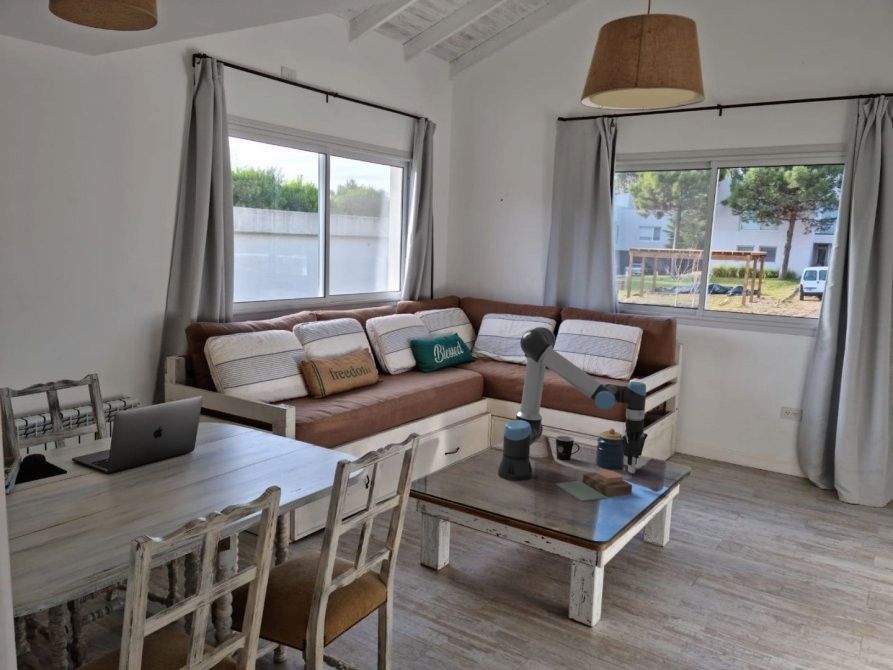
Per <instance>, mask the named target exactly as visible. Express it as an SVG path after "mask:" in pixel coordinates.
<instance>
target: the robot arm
mask: <svg viewBox="0 0 893 670" xmlns="http://www.w3.org/2000/svg"><path fill="white" fill-rule="evenodd" d="M519 342H520V343H519V345H520V348H521V350H522V352H523V353H524V357H525V359H526V360H527V361H526V367H525V373H524V374H525V375H524V382H523V388H522V397H521V402H520V403H521V404H520V410H519V411H518V412H516V415H515V416H516V417H515V420H510V421H507V422H506V423H505V425H504V429H503V444H502V445H503V447H502V458H501V461H500V463H499V465H498V468H497V469H498V470H497V475H498V476H499V477H500V478H503V479H506V480H510V481H527V480H530V479H532V477H533V468H532V465H531V460H530V454H531V453H530V452H531V451H530V450H531V448H530V447H531V445H533V444H535V443H536V442H538V441H539V439H540V438H541V436H542V435H543V432H544V431H543V430H544V428H543V424H542V420H543V417H542V415H541V414H540V410H541V403H542V396H543V388H544V381H545V374H546V369H547V368H548V369H549V370H550V371H552V372H553V373H555V374H556V375H557V376H559V377H560V378H561V379H563V380H564V381H565V382H567V383H569V384H570V385H571V386H573V388H576V389H577V391H579V392H580V393H583V395H585V396H586V397H588V398H589V399H591V400H592V401H593V402H594V403H595V405H596V407H597V408H598V409H600V410H605V411H606V410H608V409H611V408H612V407H614V406H615V404H616V403H617V404H626V411H625V417H626V418H625V431H624V433H623V434H621V435H620V438H621V440H622V446H623V453H624V457H627V462H626V463H627V465H628V466H627V472H629V473H630V474H635V473H636V465H637V464H638V463H637V461H638V459H639V458H640V457H641V456H642V453H643V450H644V448H645V447H644V446H645V442H646V440H647V437H648V433H645V431H644V430H643V429H644V426H645V420H644V419H645V411H646V402H647V401H646V400H647V384H645V383H644V382H641V381H629V382H628V384H627V385H619V384H610V383H601V382H599V381H598V380H597V379H595V378H594V377H592V376H591V375H590V374H588V373H587V372H585V371H584V370H583V369H581V368H579V367H578V366H577V365H576V364H574V363H573V362H572V361H570V360H568V359H567V358H566V357H565V356H563V355H561V354H560V353H559V352H557V351H556V350H555V349H554V348H555V346H556V336H555V333H553V331H552V330H550V328H548V327H543V326H539V327H535V328H533V329H529V330H527V331H525V332H524V333H523V334H522V336H521V338H520V341H519Z"/></svg>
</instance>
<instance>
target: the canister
mask: <svg viewBox="0 0 893 670" xmlns="http://www.w3.org/2000/svg"><path fill="white" fill-rule="evenodd" d="M620 435H622V434H621V433H620V432H617V431H615V429H614V428H610V429H608V430H605V431H603V432H601V433H599V434H598V436H599V437H598V438H597V439H596V441H597V445H596V453H595V454H596V456H595V457H596V458H595V465H596V466H598V467H600V468H603V469H607V470H620V469H621V468H623V467H624V463H625V461H624V460H625V456H624V453H623V446H622V440H621V438H620Z"/></svg>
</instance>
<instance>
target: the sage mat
mask: <svg viewBox="0 0 893 670" xmlns="http://www.w3.org/2000/svg"><path fill="white" fill-rule="evenodd" d="M555 486H557V487H558V488H560V489H562V490H563V491H564V492H566V493H568V494H570V495H571V496H572V497H574V498H576V499H577V500H578V501H580V502H588V501H595V500H596V501H597V500H605V499H607V498H608V497H606V496H604V495H603V494H601V493H599V492H598V491H596V490H594V489H593V488H591V487H589V486H588V485H586V484H584V483H583V481H581V480H575V481H573V480H572V481H565V482H556V483H555Z"/></svg>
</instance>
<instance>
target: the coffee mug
mask: <svg viewBox="0 0 893 670" xmlns="http://www.w3.org/2000/svg"><path fill="white" fill-rule="evenodd" d="M574 440H575V439H574V437H572V436H568V435H567V436H566V435H557V436H556V437H555V448H556V449H555V450H556V459H557V460H558V459H559V461H562V460H568V461H570V460H571V458H572V455H573V454H576V453H578V452H579V450H581V449H580V445H579V444H578V443H576V442H575V441H574ZM574 442H575V443H574ZM574 445H576V447H577V448H578V449H577V450H575V451H574V452H572V451H573V447H574Z"/></svg>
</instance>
